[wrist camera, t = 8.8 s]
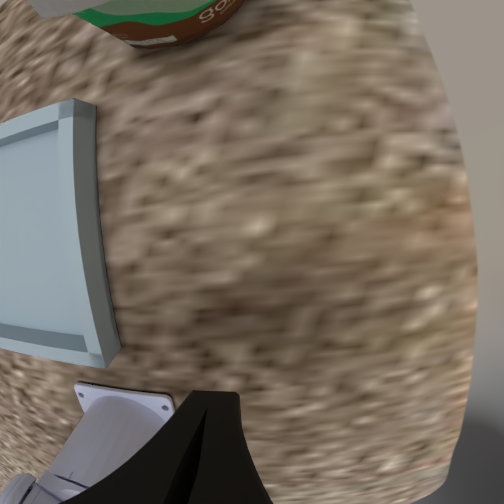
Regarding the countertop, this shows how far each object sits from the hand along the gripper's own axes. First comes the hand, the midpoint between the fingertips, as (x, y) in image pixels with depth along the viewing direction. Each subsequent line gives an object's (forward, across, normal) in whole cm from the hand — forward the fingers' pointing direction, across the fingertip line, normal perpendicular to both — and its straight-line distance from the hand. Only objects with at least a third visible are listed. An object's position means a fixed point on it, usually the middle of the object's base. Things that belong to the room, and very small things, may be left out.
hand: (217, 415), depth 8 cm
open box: (+9, +15, -4) cm, 18 cm away
